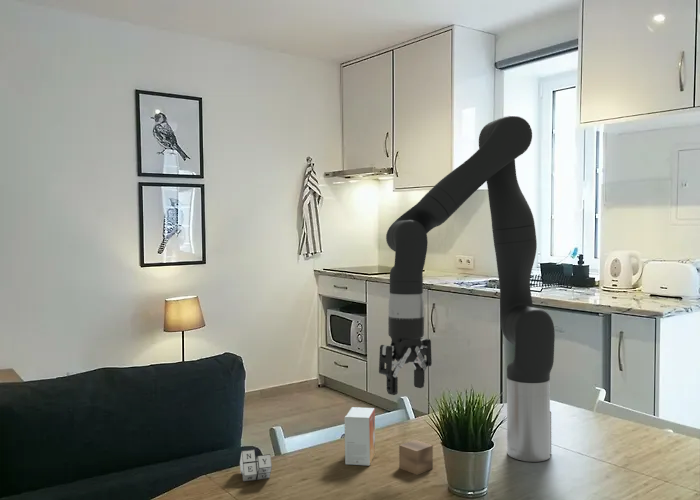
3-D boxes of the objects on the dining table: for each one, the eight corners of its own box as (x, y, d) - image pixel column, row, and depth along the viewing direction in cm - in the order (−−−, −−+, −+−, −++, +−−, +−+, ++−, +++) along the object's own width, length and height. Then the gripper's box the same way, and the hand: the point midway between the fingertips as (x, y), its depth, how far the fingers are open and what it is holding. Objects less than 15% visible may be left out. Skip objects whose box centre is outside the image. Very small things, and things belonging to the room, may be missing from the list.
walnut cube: (415, 462, 133) (415, 439, 132) (432, 468, 129) (432, 445, 129) (399, 468, 129) (399, 445, 129) (416, 475, 126) (416, 451, 125)
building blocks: (242, 487, 125) (245, 469, 119) (239, 462, 129) (242, 444, 123) (267, 483, 127) (272, 466, 121) (265, 459, 130) (268, 441, 125)
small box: (370, 466, 130) (369, 417, 130) (344, 465, 131) (343, 416, 131) (375, 453, 138) (375, 407, 138) (351, 452, 139) (351, 406, 139)
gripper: (396, 319, 121) (396, 400, 121) (441, 313, 131) (440, 388, 131) (369, 315, 126) (369, 393, 127) (414, 310, 136) (414, 382, 136)
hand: (406, 390), depth 129 cm, fingers open, 8 cm apart
